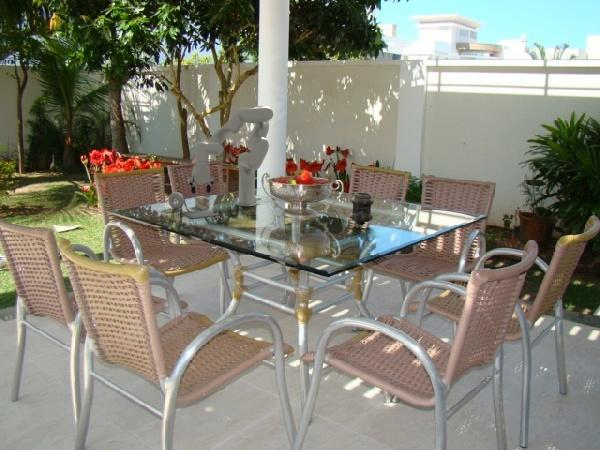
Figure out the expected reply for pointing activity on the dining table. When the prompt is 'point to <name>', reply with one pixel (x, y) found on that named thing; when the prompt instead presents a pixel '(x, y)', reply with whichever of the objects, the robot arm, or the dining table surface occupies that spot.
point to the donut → (172, 202)
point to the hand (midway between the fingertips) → (200, 192)
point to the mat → (199, 214)
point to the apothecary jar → (361, 208)
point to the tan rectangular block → (202, 202)
